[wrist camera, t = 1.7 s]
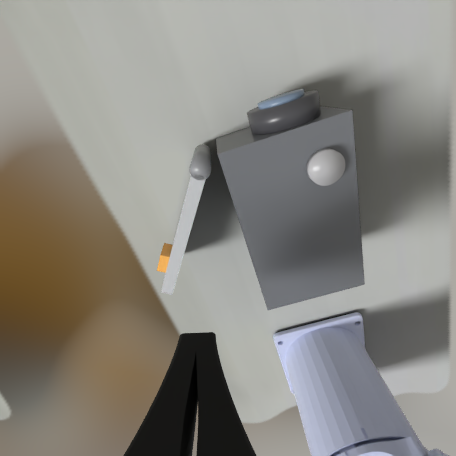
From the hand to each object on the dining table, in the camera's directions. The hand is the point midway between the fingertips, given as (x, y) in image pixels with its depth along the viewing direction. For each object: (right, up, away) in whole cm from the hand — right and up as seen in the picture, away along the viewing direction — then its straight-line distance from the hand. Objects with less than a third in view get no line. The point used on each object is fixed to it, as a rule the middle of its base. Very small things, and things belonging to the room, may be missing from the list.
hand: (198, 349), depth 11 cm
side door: (-2, +6, +6) cm, 9 cm away
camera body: (+5, +7, +7) cm, 11 cm away
